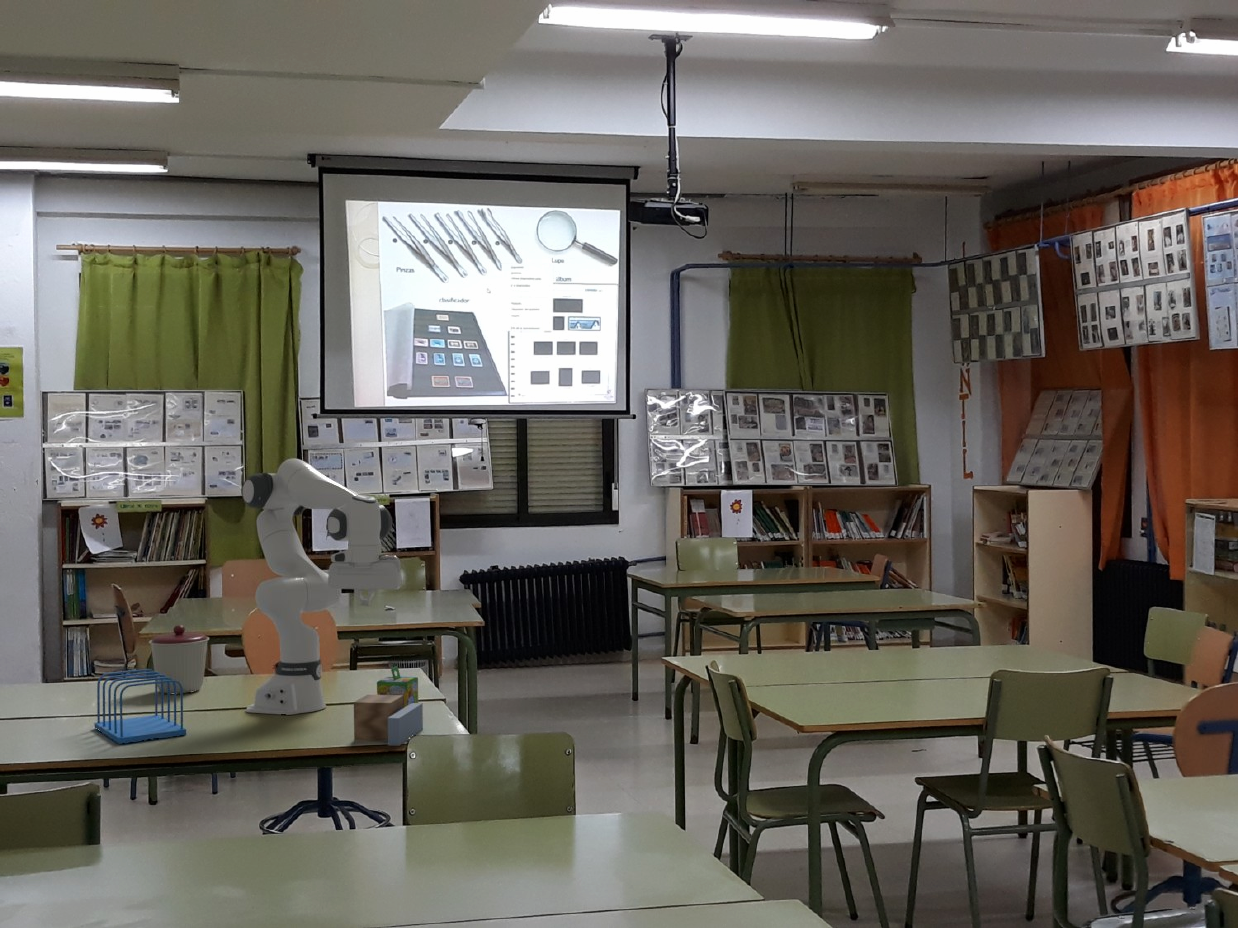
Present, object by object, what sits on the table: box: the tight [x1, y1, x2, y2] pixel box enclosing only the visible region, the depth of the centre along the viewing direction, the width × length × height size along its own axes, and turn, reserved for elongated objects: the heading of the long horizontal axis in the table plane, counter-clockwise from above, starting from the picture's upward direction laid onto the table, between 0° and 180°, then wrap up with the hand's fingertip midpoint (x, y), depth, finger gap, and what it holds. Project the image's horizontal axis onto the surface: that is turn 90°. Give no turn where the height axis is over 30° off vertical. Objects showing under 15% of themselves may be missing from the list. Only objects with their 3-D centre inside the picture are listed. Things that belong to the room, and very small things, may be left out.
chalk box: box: [376, 665, 419, 708], centre depth 347 cm, size 9×9×15 cm
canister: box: [148, 624, 210, 694], centre depth 394 cm, size 18×18×21 cm
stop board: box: [387, 702, 424, 747], centre depth 326 cm, size 3×19×7 cm, turn 171°
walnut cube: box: [353, 694, 403, 742], centre depth 327 cm, size 10×10×10 cm
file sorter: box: [93, 668, 187, 745], centre depth 336 cm, size 25×17×15 cm
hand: (365, 605), depth 340 cm, fingers closed
